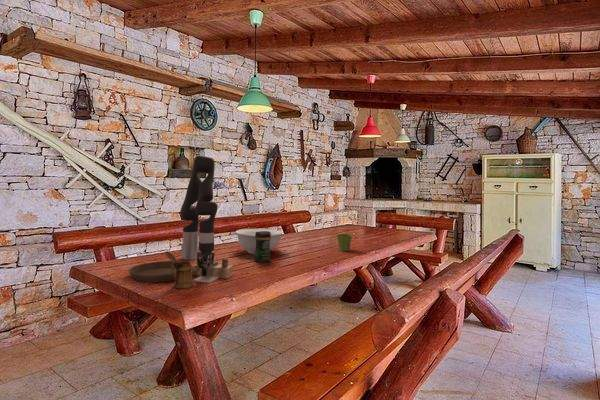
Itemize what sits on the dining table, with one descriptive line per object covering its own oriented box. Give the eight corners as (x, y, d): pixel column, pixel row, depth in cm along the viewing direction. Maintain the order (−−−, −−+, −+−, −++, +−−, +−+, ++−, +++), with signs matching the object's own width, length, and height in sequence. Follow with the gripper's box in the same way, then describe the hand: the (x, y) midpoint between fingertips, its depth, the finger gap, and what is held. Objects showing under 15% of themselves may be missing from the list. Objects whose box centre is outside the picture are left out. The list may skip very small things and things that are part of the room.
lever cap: (199, 276, 187) (199, 266, 186) (203, 274, 190) (203, 264, 190) (209, 276, 185) (209, 267, 185) (212, 274, 189) (212, 265, 189)
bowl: (291, 251, 264) (291, 231, 263) (262, 259, 236) (263, 236, 235) (255, 246, 281) (255, 226, 280) (225, 253, 254) (225, 231, 253)
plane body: (191, 275, 196) (192, 252, 195) (198, 272, 203) (198, 250, 202) (227, 278, 191) (227, 255, 191) (232, 274, 198) (233, 252, 197)
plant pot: (341, 248, 279) (341, 233, 279) (355, 250, 272) (355, 235, 272) (332, 250, 270) (333, 235, 269) (347, 252, 263) (347, 237, 262)
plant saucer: (118, 275, 194) (118, 266, 194) (173, 265, 217) (173, 257, 217) (146, 288, 173) (146, 278, 173) (203, 276, 196) (204, 267, 196)
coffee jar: (258, 263, 227) (259, 232, 226) (252, 260, 233) (253, 230, 232) (272, 261, 232) (273, 231, 231) (266, 258, 239) (266, 229, 238)
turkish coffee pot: (160, 287, 173) (160, 249, 172) (187, 282, 183) (187, 245, 182) (170, 292, 167) (170, 252, 166) (197, 286, 177) (197, 248, 176)
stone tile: (193, 281, 185) (193, 279, 185) (202, 276, 193) (202, 275, 193) (210, 282, 183) (210, 281, 183) (218, 278, 191) (218, 276, 191)
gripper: (206, 238, 195) (206, 271, 196) (192, 243, 181) (192, 278, 182) (219, 239, 193) (219, 272, 194) (206, 244, 179) (206, 279, 180)
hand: (206, 274), depth 188 cm, fingers closed on lever cap, 4 cm apart
